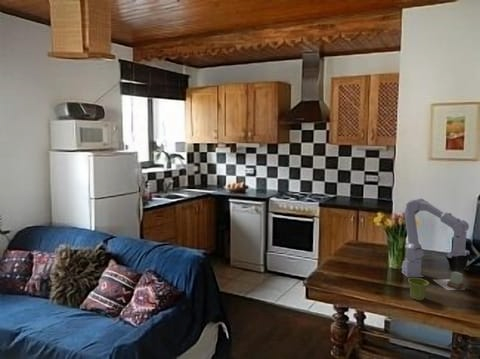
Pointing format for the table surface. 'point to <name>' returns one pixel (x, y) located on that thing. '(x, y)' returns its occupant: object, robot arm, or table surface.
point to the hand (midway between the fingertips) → (457, 269)
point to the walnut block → (456, 285)
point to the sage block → (456, 277)
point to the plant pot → (418, 288)
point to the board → (445, 284)
